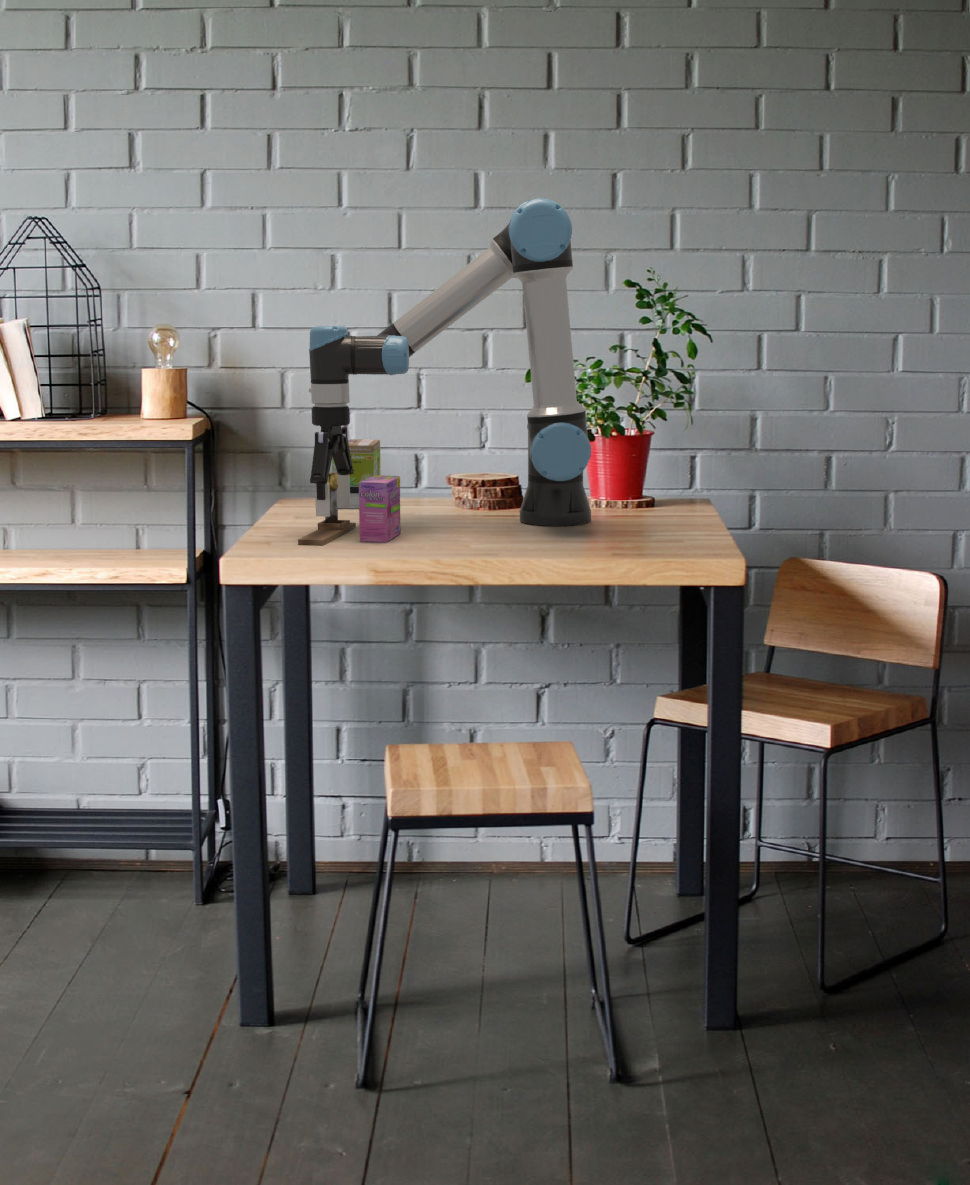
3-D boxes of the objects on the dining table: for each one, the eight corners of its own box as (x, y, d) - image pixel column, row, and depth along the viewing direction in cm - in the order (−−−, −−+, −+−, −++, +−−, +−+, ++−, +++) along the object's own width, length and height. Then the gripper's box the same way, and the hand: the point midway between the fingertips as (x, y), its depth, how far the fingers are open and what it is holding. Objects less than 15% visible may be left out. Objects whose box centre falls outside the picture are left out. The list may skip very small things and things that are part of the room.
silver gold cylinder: (341, 526, 269) (339, 472, 267) (336, 528, 266) (335, 474, 264) (326, 526, 269) (325, 472, 267) (322, 528, 267) (320, 473, 264)
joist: (356, 527, 274) (356, 516, 273) (323, 545, 253) (323, 534, 252) (332, 526, 275) (332, 516, 274) (297, 544, 254) (297, 533, 253)
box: (387, 543, 255) (386, 482, 253) (359, 542, 256) (357, 481, 254) (401, 534, 265) (400, 475, 263) (374, 533, 266) (372, 475, 264)
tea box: (375, 509, 300) (374, 443, 297) (331, 509, 300) (329, 444, 297) (381, 500, 315) (380, 437, 312) (339, 500, 315) (337, 437, 312)
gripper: (331, 400, 275) (334, 502, 279) (291, 409, 251) (295, 520, 256) (366, 401, 274) (368, 503, 278) (329, 409, 250) (332, 520, 254)
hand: (333, 511), depth 267 cm, fingers open, 13 cm apart
